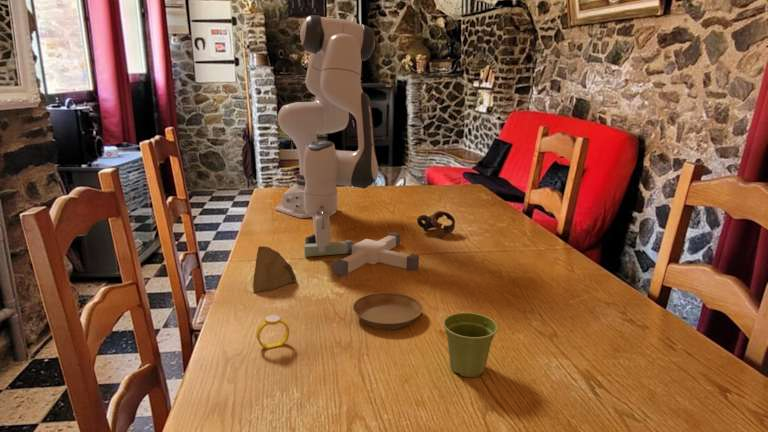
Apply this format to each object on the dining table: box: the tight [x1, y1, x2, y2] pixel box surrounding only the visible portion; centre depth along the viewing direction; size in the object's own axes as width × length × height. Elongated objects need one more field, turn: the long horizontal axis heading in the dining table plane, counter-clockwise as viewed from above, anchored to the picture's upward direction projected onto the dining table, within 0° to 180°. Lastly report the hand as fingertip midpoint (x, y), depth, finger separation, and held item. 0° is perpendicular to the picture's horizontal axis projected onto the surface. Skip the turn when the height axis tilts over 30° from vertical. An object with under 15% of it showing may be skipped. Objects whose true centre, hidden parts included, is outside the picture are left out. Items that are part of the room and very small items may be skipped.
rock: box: [252, 245, 298, 294], centre depth 124 cm, size 11×9×10 cm
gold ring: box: [255, 314, 291, 350], centre depth 98 cm, size 6×3×6 cm, turn 115°
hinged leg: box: [303, 239, 354, 257], centre depth 145 cm, size 14×2×3 cm, turn 105°
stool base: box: [333, 231, 420, 277], centre depth 141 cm, size 20×29×4 cm
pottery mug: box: [416, 210, 456, 239], centre depth 165 cm, size 12×10×8 cm
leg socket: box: [305, 233, 316, 244], centre depth 153 cm, size 5×5×3 cm
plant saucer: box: [352, 292, 423, 330], centre depth 110 cm, size 15×15×3 cm
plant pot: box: [442, 312, 499, 378], centre depth 91 cm, size 9×9×9 cm
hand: (321, 251), depth 143 cm, fingers closed
